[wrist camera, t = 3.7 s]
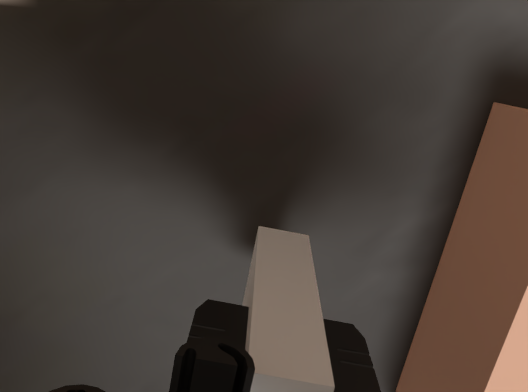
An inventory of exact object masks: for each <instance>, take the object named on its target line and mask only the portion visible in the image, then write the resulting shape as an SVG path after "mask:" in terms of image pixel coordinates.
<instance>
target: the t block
mask: <svg viewBox="0 0 528 392" xmlns="http://www.w3.org/2000/svg"><path fill="white" fill-rule="evenodd" d="M395 392H528V109H525V108H520V107H515V106H510V105H505V104H500V103H496V102H494V103H493V106H492V109H491V112H490V115H489V118H488V121H487V124H486V127H485V130H484V133H483V136H482V138H481V141H480V144H479V147H478V150H477V153H476V156H475V159H474V162H473V165H472V168H471V171H470V174H469V177H468V180H467V183H466V185H465V188H464V191H463V194H462V197H461V200H460V203H459V206H458V209H457V212H456V215H455V218H454V221H453V224H452V227H451V229H450V232H449V235H448V238H447V241H446V244H445V247H444V250H443V253H442V256H441V259H440V262H439V265H438V268H437V271H436V274H435V276H434V279H433V282H432V285H431V288H430V291H429V294H428V297H427V300H426V303H425V306H424V309H423V312H422V315H421V318H420V321H419V323H418V326H417V329H416V332H415V335H414V338H413V341H412V344H411V347H410V350H409V353H408V356H407V359H406V362H405V365H404V368H403V371H402V373H401V376H400V379H399V382H398V385H397V388H396V391H395Z"/></svg>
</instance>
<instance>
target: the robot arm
mask: <svg viewBox="0 0 528 392" xmlns="http://www.w3.org/2000/svg"><path fill="white" fill-rule="evenodd" d="M49 392H105V391H103V390H101V389H100V388H98V387H93V386H88V385H69V386H64V387H61V388H58V389H55V390H52V391H49ZM169 392H381V391H380V387H379V384H378V381H377V377H376V374H375V371H374V369H373V364H372V361H371V357H370V356H369V351H368V347H367V344H366V341H365V338H364V337H363V336H362V335H361V333H360V332H359V331H358V330H357V329H356V328H355V326H354V325H353V324H349V323H343V322H338V321H332V320H327V319H323V316H322V310H321V304H320V299H319V293H318V287H317V281H316V276H315V270H314V264H313V258H312V253H311V247H310V241H309V235H304V234H299V233H293V232H288V231H283V230H278V229H272V228H267V227H262V226H259V227H258V232H257V236H256V241H255V246H254V251H253V256H252V261H251V265H250V270H249V275H248V280H247V285H246V289H245V294H244V299H243V304H242V306H241V305H236V304H231V303H225V302H220V301H214V300H209V299H208V300H207V301H205V302H204V303H203V304H202V305H201V306H199V307H198V308H197V309H196V311H195V315H194V318H193V322H192V326H191V329H190V333H189V337H188V340H187V343H185V344H184V345H182V346H181V347H180V348H179V350H178V351H177V353H176V354H175V360H174V366H173V372H172V378H171V384H170V390H169Z"/></svg>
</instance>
